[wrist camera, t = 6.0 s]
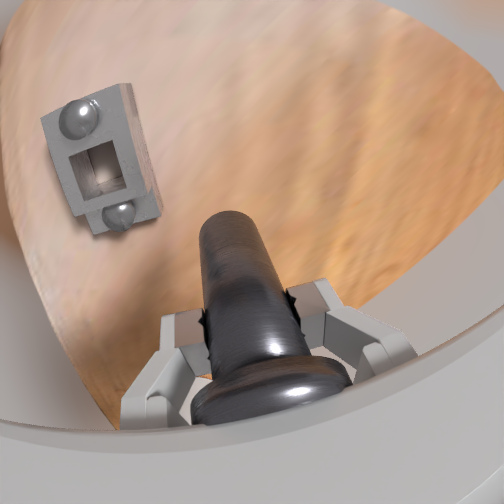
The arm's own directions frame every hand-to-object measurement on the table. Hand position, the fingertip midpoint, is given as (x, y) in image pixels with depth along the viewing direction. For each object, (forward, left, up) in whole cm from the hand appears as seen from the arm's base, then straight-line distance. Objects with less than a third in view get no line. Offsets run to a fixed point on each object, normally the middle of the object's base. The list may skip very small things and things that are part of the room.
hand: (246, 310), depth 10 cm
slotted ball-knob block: (+3, +9, -18) cm, 20 cm away
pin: (0, 0, -5) cm, 5 cm away
